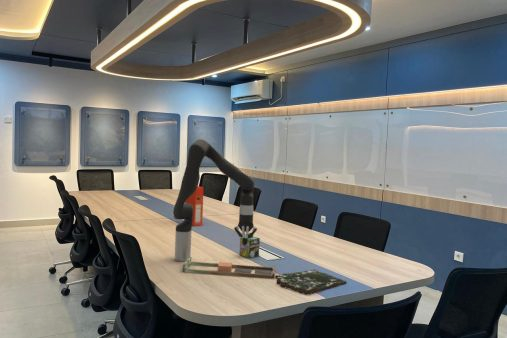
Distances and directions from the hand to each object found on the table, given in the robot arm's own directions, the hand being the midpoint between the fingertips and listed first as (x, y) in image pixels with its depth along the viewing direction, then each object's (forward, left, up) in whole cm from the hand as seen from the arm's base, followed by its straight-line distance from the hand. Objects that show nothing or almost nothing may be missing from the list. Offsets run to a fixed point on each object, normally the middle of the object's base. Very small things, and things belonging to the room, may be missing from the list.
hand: (244, 244), depth 216 cm
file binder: (-116, -55, -16) cm, 130 cm away
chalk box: (-33, 0, -16) cm, 37 cm away
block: (0, -10, -16) cm, 19 cm away
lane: (0, -8, -15) cm, 17 cm away
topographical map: (+8, +34, -16) cm, 38 cm away
